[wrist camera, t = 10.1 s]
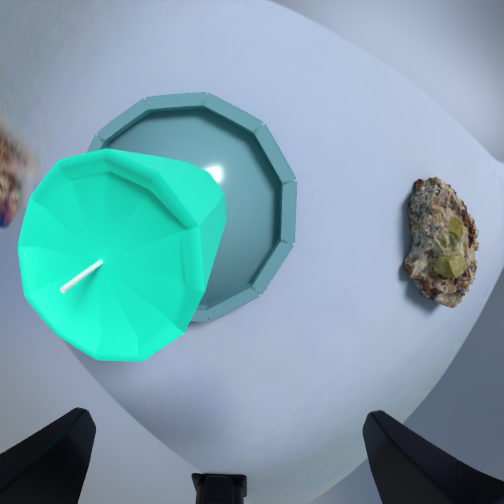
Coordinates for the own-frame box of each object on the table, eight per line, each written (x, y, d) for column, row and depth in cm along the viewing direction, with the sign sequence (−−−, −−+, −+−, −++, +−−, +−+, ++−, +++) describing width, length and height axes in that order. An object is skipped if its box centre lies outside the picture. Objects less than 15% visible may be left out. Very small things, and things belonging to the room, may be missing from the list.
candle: (152, 272, 18) (52, 402, 6) (118, 183, 16) (-39, 214, 4) (241, 242, 17) (241, 375, 6) (208, 146, 16) (133, 89, 4)
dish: (286, 308, 20) (290, 322, 18) (99, 304, 19) (88, 315, 17) (293, 100, 16) (299, 92, 14) (87, 113, 16) (72, 109, 14)
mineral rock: (496, 274, 18) (451, 334, 17) (462, 267, 22) (413, 319, 21) (470, 154, 16) (418, 198, 14) (431, 161, 20) (373, 200, 18)
